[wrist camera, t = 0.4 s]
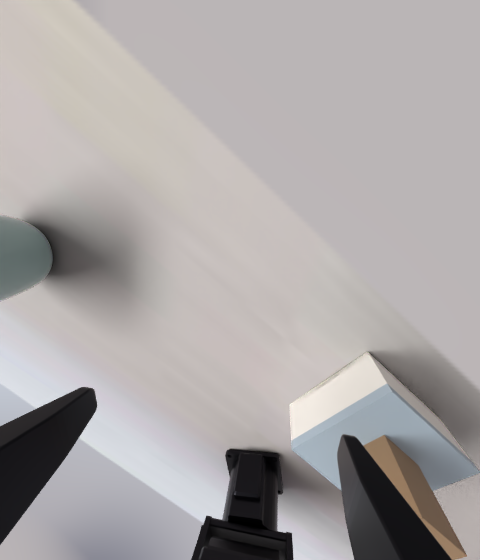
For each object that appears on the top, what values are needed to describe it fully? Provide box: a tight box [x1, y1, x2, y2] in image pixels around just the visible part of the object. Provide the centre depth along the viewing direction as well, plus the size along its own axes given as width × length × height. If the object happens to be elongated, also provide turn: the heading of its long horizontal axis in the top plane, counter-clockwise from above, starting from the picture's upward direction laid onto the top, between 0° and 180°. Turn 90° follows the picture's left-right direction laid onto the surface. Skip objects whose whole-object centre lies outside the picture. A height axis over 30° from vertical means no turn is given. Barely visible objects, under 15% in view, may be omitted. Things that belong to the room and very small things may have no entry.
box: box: [289, 352, 471, 460], centre depth 21 cm, size 10×10×4 cm
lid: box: [291, 384, 480, 560], centre depth 17 cm, size 10×10×6 cm
